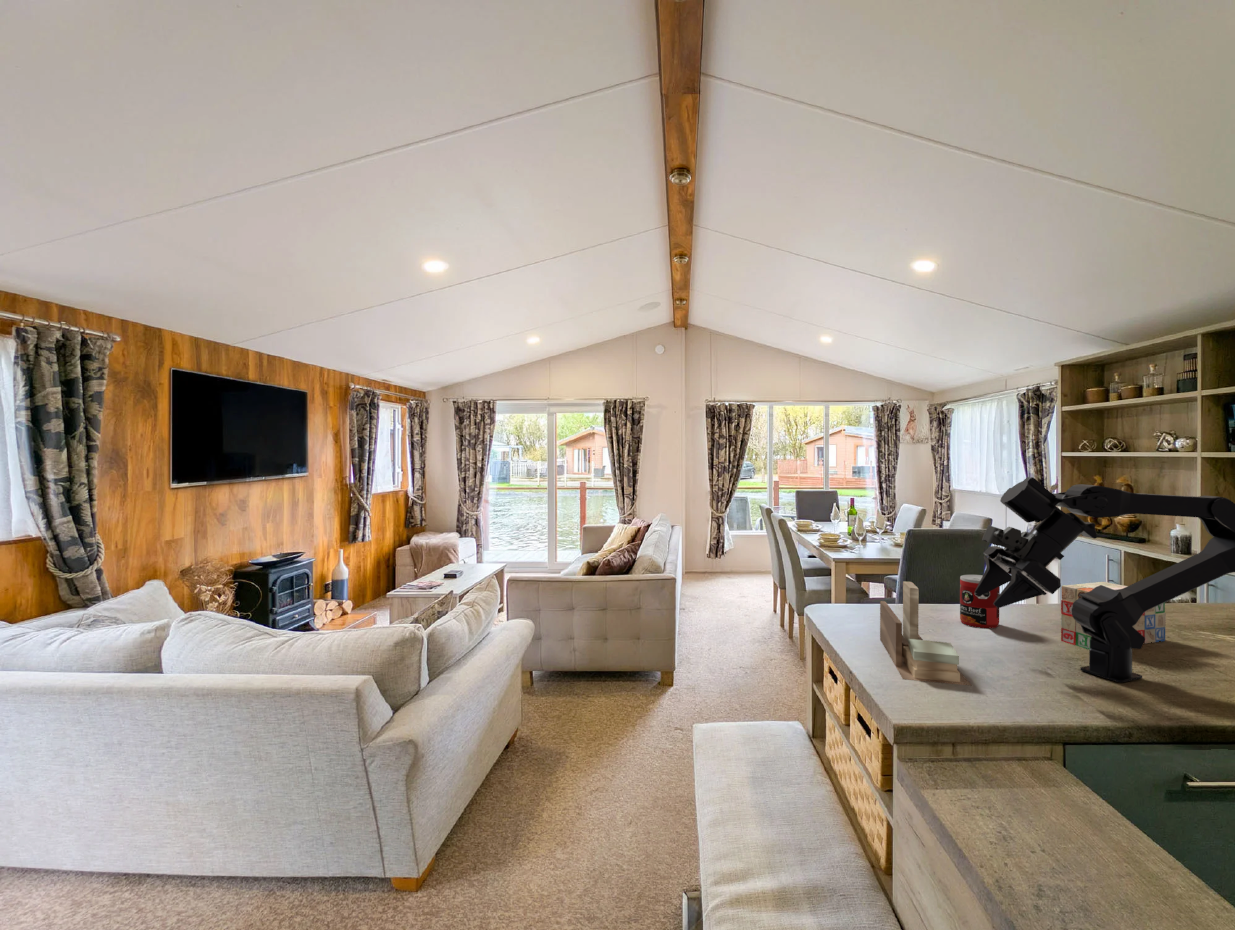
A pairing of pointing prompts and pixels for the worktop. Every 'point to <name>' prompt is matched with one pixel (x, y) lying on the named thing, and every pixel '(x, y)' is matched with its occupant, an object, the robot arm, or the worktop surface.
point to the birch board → (910, 610)
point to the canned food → (977, 604)
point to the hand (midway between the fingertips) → (985, 599)
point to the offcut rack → (901, 644)
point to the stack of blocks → (1072, 633)
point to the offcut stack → (932, 660)
